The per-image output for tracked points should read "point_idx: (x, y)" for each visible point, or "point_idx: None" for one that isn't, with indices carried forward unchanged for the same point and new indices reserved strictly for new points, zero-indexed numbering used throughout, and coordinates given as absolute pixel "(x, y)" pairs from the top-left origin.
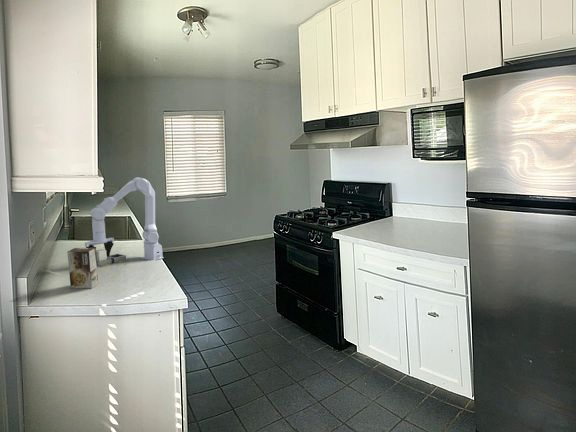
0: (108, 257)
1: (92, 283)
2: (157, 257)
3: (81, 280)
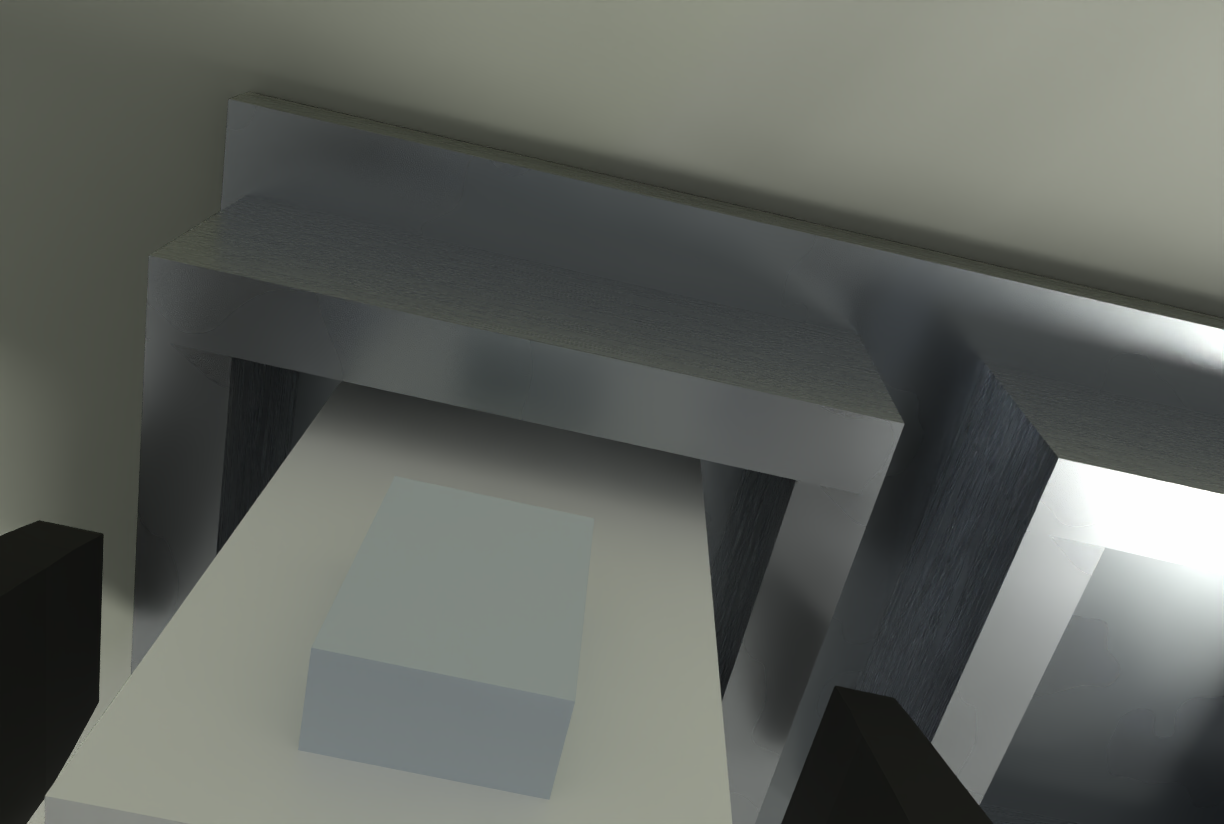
0: (958, 643)
1: None
2: None
3: None
